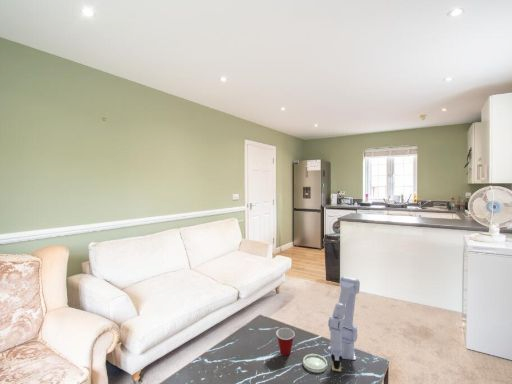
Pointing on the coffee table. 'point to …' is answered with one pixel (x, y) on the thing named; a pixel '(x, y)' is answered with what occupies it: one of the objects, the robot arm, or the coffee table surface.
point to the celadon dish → (315, 363)
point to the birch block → (334, 368)
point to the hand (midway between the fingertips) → (336, 365)
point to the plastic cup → (285, 340)
